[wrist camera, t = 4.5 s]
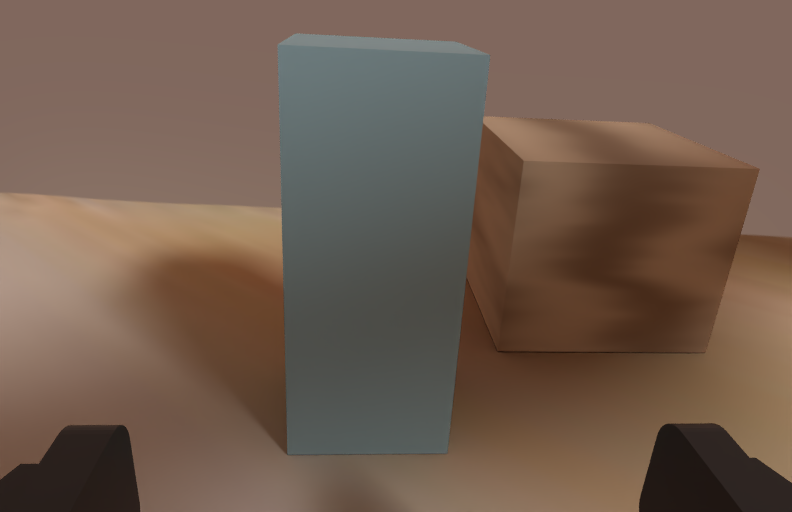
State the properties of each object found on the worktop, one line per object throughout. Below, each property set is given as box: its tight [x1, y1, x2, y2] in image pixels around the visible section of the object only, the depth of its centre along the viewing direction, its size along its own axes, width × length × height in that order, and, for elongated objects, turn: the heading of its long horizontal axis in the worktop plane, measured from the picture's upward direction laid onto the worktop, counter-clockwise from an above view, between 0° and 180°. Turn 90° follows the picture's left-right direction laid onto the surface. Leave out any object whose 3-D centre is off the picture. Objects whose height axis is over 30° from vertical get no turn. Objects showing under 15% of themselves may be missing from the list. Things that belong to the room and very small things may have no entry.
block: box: [466, 117, 759, 353], centre depth 28 cm, size 9×9×8 cm
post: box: [278, 34, 490, 455], centre depth 19 cm, size 5×5×12 cm
